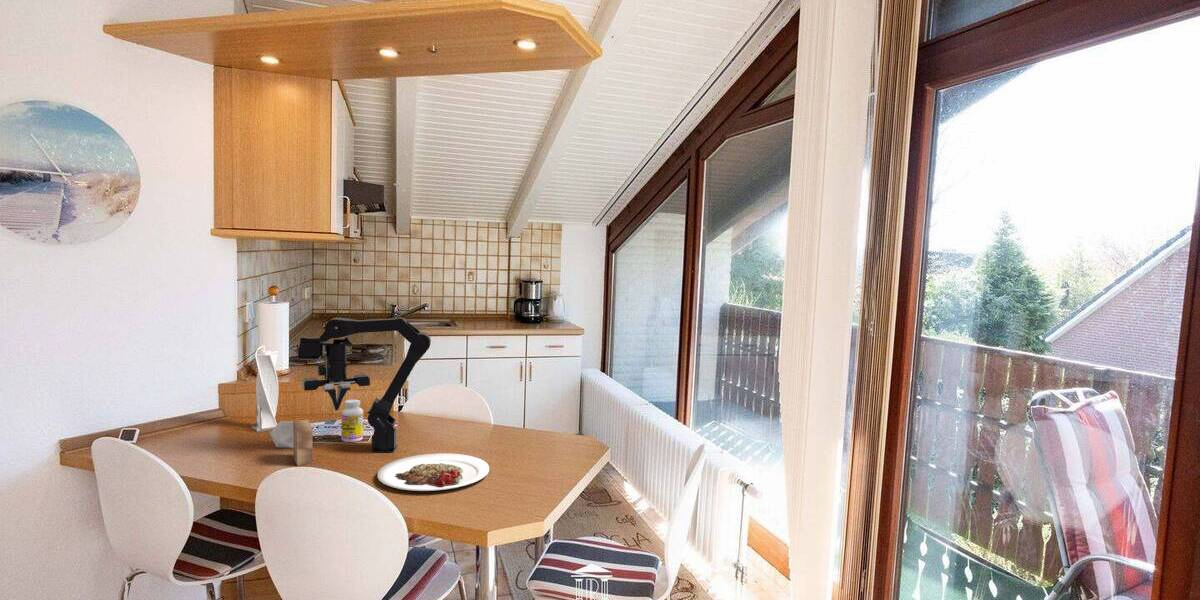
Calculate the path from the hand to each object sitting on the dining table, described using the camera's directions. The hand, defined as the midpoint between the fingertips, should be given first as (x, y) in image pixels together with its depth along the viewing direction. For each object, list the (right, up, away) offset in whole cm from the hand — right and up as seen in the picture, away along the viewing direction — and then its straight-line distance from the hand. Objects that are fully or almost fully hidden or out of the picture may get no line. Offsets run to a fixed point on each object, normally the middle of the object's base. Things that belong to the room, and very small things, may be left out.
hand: (336, 410), depth 198 cm
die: (-18, -13, +5) cm, 22 cm away
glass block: (-7, -14, -8) cm, 17 cm away
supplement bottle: (0, -12, +14) cm, 19 cm away
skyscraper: (-35, -11, +26) cm, 45 cm away
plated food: (+34, -16, -18) cm, 42 cm away
